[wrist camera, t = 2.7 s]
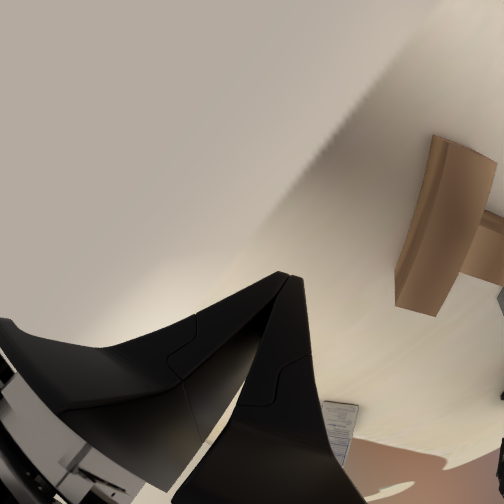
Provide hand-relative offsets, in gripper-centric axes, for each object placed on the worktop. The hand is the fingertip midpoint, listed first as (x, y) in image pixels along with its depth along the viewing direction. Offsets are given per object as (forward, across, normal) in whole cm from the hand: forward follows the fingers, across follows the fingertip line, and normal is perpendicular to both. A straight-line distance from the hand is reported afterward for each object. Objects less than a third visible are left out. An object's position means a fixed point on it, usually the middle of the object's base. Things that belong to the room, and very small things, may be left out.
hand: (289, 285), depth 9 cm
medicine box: (+11, -8, +28) cm, 31 cm away
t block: (+11, -10, 0) cm, 14 cm away
